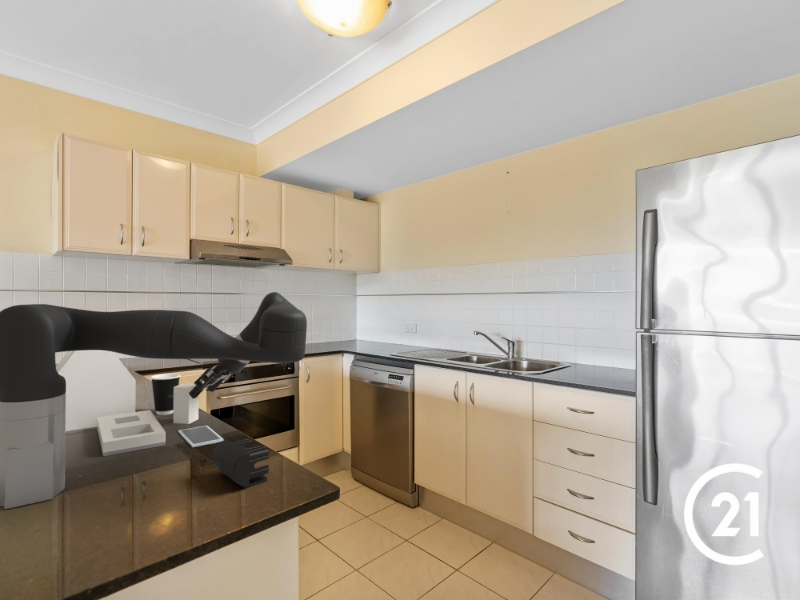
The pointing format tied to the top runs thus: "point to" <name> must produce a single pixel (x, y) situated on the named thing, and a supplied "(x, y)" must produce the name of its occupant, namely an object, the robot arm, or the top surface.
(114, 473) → the top surface
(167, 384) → the dixie cup
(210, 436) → the phone
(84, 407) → the milk carton
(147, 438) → the outlet strip
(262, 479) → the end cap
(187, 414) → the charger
